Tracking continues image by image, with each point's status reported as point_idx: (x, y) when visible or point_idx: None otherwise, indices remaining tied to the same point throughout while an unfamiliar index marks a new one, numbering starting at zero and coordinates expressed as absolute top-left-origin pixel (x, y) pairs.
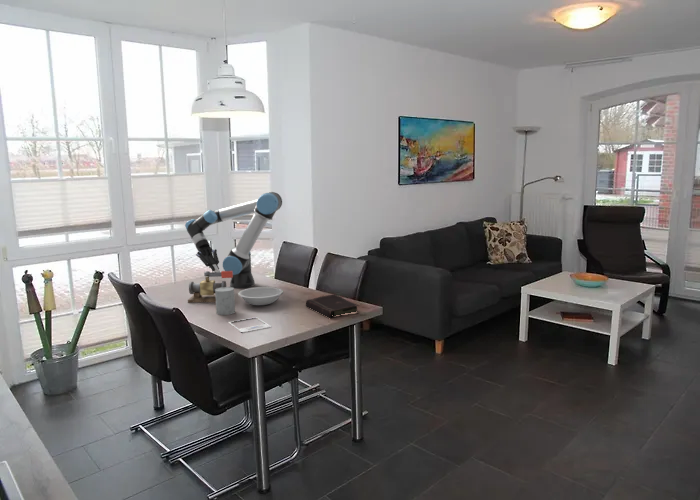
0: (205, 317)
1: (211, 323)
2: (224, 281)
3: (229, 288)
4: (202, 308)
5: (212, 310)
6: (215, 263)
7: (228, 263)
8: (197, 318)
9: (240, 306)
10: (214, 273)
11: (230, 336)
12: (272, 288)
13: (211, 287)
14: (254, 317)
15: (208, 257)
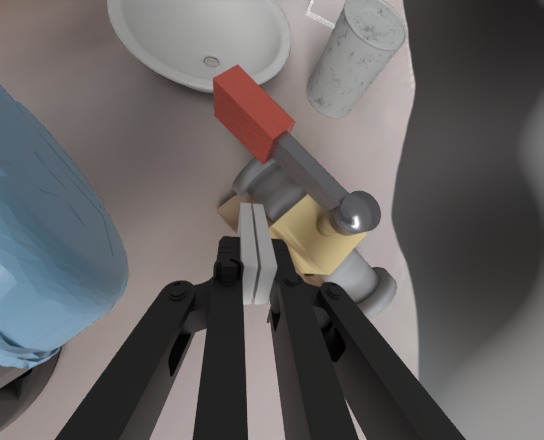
0: (382, 109)
1: (390, 72)
2: None
3: (355, 15)
4: (355, 172)
5: (345, 135)
6: (241, 271)
7: (69, 212)
8: (398, 119)
9: (271, 96)
10: (320, 170)
11: (396, 6)
12: (122, 8)
13: None
14: (312, 13)
15: (329, 427)
